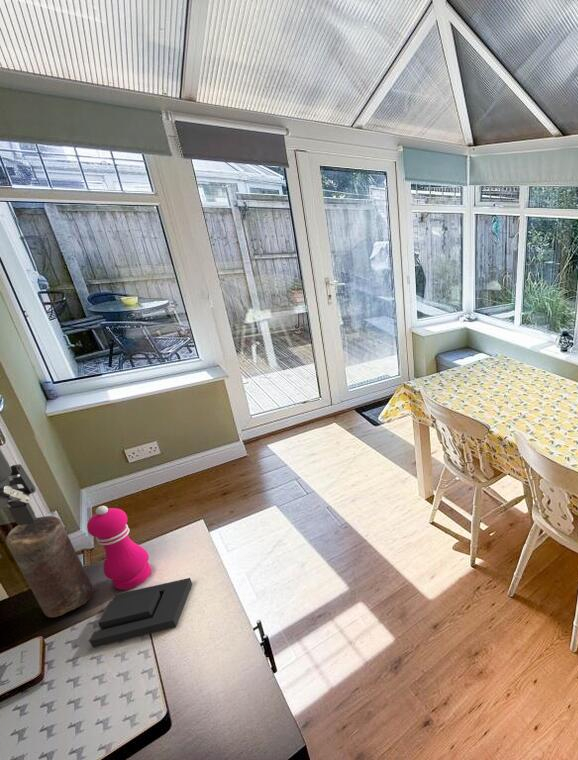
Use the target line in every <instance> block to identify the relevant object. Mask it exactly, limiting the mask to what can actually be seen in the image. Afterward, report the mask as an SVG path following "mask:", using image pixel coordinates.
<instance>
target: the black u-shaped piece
mask: <svg viewBox="0 0 578 760" xmlns="http://www.w3.org/2000/svg"><path fill="white" fill-rule="evenodd" d="M192 587H193V581H192V580H191V577H187V578H181V579H178V580H173V581H169V582H164V583H160V584H156V585H151V586H147V587H142V588H138V589H133V590H128V591H124V592H120V593H115V594H114V596H113V598H112V600H117V599H121V598H126V597H130V596H135V595H139V594H144V593H148V592H152V591H157V590H159V593H160V595H161V600H160V602H159V604H158V606H157V609H156V611H155V613H154V615H153V618H149V619H144V620H140V621H136V622H132V623H128V624H124V625H120V626H116V627H112V628H107V629H103V630H101V629H100V630H95V631H94V632H93V633H92V635H91V637H90V639H89V641H88V642H89V644H90V645H91V647H92V648H93V649H96V648H99V647H103V646H107V645H111V644H115V643H119V642H123V641H127V640H130V639H134V638H138V637H139V638H140V637H143V636H146V635H150V634H154V633H158V632H162V631H166V630H171V629H174V628H177V626H178V623H179V621H180V619H181V615H182V613H183V610H184V608H185V605H186V602H187V600H188V597H189V594H190V592H191V589H192Z"/></svg>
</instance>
